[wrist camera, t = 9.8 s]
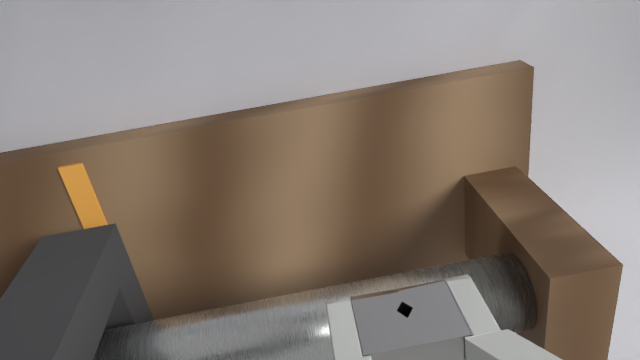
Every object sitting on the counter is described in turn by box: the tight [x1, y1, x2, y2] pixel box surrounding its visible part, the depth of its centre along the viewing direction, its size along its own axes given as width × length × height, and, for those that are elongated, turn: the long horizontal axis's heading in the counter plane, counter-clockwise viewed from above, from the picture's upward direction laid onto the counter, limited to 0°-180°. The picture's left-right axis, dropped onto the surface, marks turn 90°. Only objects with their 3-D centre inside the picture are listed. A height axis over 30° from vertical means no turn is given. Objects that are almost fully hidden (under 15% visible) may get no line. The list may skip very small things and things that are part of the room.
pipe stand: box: [0, 60, 623, 360], centre depth 17 cm, size 24×11×7 cm, turn 99°
